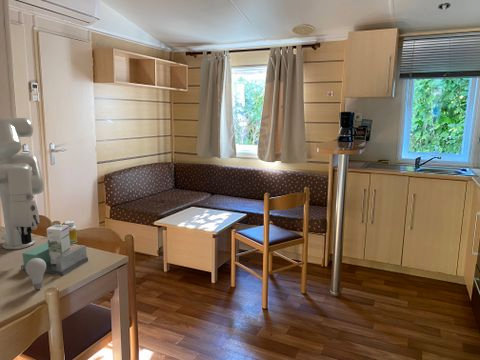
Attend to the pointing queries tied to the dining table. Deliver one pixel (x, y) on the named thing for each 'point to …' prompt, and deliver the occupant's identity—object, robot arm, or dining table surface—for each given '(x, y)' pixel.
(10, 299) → the dining table surface
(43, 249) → the teal green rectangular block
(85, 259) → the base
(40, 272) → the lightbulb
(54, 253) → the syrup box
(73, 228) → the supplement bottle
